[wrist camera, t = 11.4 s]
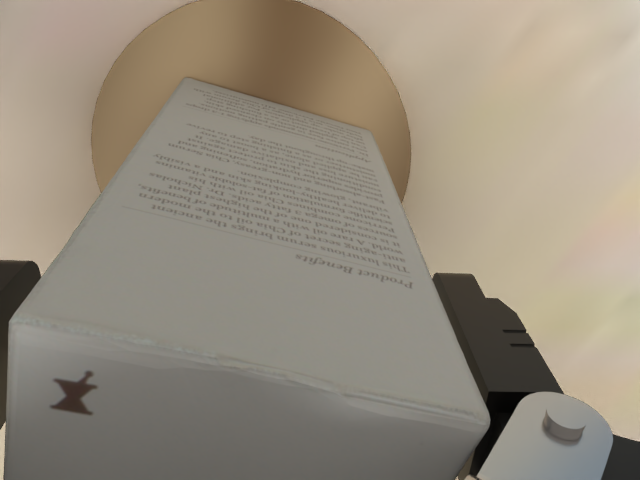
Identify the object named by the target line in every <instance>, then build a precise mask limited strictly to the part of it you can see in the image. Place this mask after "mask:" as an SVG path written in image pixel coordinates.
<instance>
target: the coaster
mask: <svg viewBox="0 0 640 480" xmlns="http://www.w3.org/2000/svg"><path fill="white" fill-rule="evenodd" d="M185 77H187V78H192V79H195V80H198V81H201V82H205V83H208V84H212V85H215V86H218V87H222V88H225V89H229V90H232V91H235V92H239V93H243V94H246V95H250V96H253V97H256V98H260V99H263V100H266V101H270V102H273V103H277V104H281V105H284V106H288V107H291V108H294V109H298V110H301V111H305V112H308V113H312V114H315V115H318V116H322V117H325V118H328V119H332V120H335V121H339V122H342V123H345V124H349V125H352V126H355V127H359V128H363V129H367V130H369V131H371V133H372V134H373V136H374V138H375V140H376V143H377V145H378V148H379V150H380V153H381V155H382V157H383V160H384V162H385V164H386V167H387V170H388V172H389V175H390V177H391V179H392V182H393V185H394V187H395V189H396V192H397V194H398V197H399V199H400V202H401V203H402V201H403V198H404V195H405V192H406V188H407V183H408V178H409V173H410V162H411V144H410V132H409V127H408V122H407V118H406V113H405V110H404V107H403V105H402V102H401V99H400V96H399V94H398V92H397V90H396V88H395V86H394V84H393V82H392V80H391V78H390V76H389V74H388V73H387V71H386V70H385V69H384V67H383V66H382V64H381V63H380V62H379V60H378V59H377V57H376V56H375V55H374V53H373V52H372V51H371V50H370V49H369V48H368V47H367V46H366V45H365V44H364V43H363V42H362V40H361V39H360V38H359V37H358V36H356V35H355V34H354V33H353V32H351V31H350V30H349V29H348V28H346V27H345V26H344V25H343V24H341V23H340V22H338V21H337V20H335V19H333V18H332V17H330V16H328V15H327V14H325V13H323V12H322V11H319V10H317V9H315V8H312V7H310V6H308V5H305V4H303V3H300V2H297V1H293V0H200V1H197V2H194V3H190V4H187V5H185V6H183V7H181V8H179V9H177V10H175V11H173V12H171V13H169V14H167V15H165V16H164V17H162V18H161V19H159V20H158V21H156V22H155V23H153V24H152V25H151V26H149V27H148V28H146V29H145V30H144V31H143V32H142V33H140V34H139V35H138V36H137V37H136V38H135V39H134V40H133V41H132V42H131V43H130V44H129V45H128V46H127V47H126V49H125V50H124V51H123V52H122V54H121V55H120V56H119V57H118V59H117V60H116V61H115V63H114V65H113V66H112V68H111V70H110V72H109V73H108V75H107V77H106V79H105V80H104V83H103V86H102V88H101V91H100V94H99V96H98V99H97V102H96V107H95V112H94V116H93V122H92V136H91V145H92V159H93V165H94V170H95V174H96V179H97V182H98V185H99V188H100V191H101V193H102V192H103V190H104V189H105V187H106V186H107V184H108V183H109V182H110V180H111V179H112V178H113V177H114V175H115V174H116V172H117V171H118V169H119V168H120V166H121V165H122V164H123V162H124V161H125V159H126V158H127V156H128V155H129V153H130V152H131V150H132V149H133V148H134V146H135V145H136V143H137V142H138V141H139V139H140V138H141V137H142V135H143V134H144V132H145V131H146V130H147V128H148V127H149V126H150V124H151V123H152V122H153V120H154V119H155V118H156V116H157V115H158V113H159V112H160V110H161V109H162V107H163V106H164V105H165V103H166V102H167V100H168V99H169V98H170V96H171V95H172V93H173V92H174V90H175V89H176V88H177V86H178V85H179V84H180V82H181V81H182V80H183V79H184V78H185Z"/></svg>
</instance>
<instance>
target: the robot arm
mask: <svg viewBox="0 0 640 480" xmlns="http://www.w3.org/2000/svg"><path fill="white" fill-rule="evenodd" d="M40 278H41V275H40V271H39V268H38V266H37V264H36V263H35V262H33V261H14V260H0V429H1V428H2V426H3V424H4V423H5V421H6V403H7V369H8V332H9V321H10V319H11V318H12V316H13V315H14V313H15V312H16V311H17V309H18V308H19V307H20V305H21V304H22V303H23V301H24V300H25V299H26V297H27V296H28V295H29V293H30V292H31V291H32V289H33V288H34V287H35V285H36V284H37V283H38V281H39V280H40ZM432 280H433V283H434V285H435V288H436V290H437V292H438V295H439V297H440V300H441V302H442V304H443V307H444V309H445V311H446V314H447V316H448V319H449V321H450V324H451V326H452V328H453V330H454V333H455V335H456V338H457V341H458V343H459V345H460V348H461V350H462V352H463V354H464V357H465V359H466V362H467V364H468V367H469V369H470V371H471V373H472V376H473V378H474V380H475V382H476V385H477V387H478V389H479V391H480V394H481V396H482V398H483V401H484V403H485V405H486V407H487V410H488V412H489V416H490V420H491V421H490V426H489V429H488V430H487V432H486V433H485V435H484V436H483V438H482V439H481V441H480V442H479V444H478V445H477V447H476V448H475V449H474V451H473V452H472V454H471V455H470V457H469V459H468V460H467V462H466V463H465V465H464V466H463V468H462V469H461V471H460V472H459V474H458V479H459V480H640V442H638V441H634V440H630V439H626V438H623V437H619V436H616V435H614V434H612V431H611V429H610V427H609V425H608V423H607V422H606V421H605V419H604V418H603V417H602V416H601V415H600V414H599V413H598V412H597V411H596V410H594V409H593V408H592V407H590V406H589V405H587V404H585V403H584V402H582V401H580V400H578V399H576V398H573V397H570V396H568V395H564V393H563V391H562V390H561V388H560V386H559V385H558V383H557V381H556V380H555V378H554V376H553V374H552V373H551V371H550V369H549V368H548V366H547V364H546V363H545V361H544V359H543V358H542V356H541V354H540V353H539V351H538V349H537V348H535V347H534V342H533V341H532V339H531V337H530V336H529V334H528V333H526V329H525V327H524V325H523V324H522V322H521V320H520V319H519V317H518V315H517V314H516V313H515V312H514V311H513V310H512V309H510V308H509V307H508V306H507V305H505V304H504V303H503V302H502V301H500V300H499V299H498V298H485V296H484V294H483V292H482V290H481V289H480V287H479V285H478V283H477V281H476V279H475V277H474V276H473V275H472V274H454V273H435V275H434V276H433V279H432Z"/></svg>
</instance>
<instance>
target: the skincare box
mask: <svg viewBox="0 0 640 480" xmlns="http://www.w3.org/2000/svg"><path fill="white" fill-rule="evenodd" d="M490 421H491V420H490V416H489V412H488V410H487V407H486V405H485V403H484V401H483V398H482V396H481V394H480V391H479V389H478V387H477V385H476V382H475V380H474V378H473V376H472V373H471V371H470V369H469V367H468V364H467V362H466V359H465V357H464V354H463V352H462V350H461V348H460V345H459V343H458V341H457V338H456V335H455V333H454V330H453V328H452V326H451V324H450V321H449V319H448V316H447V314H446V311H445V309H444V307H443V304H442V302H441V300H440V297H439V295H438V292H437V290H436V288H435V285H434V283H433V280H432V278H431V275H430V273H429V271H428V268H427V266H426V263H425V261H424V258H423V256H422V254H421V251H420V248H419V246H418V243H417V241H416V238H415V236H414V233H413V231H412V229H411V226H410V224H409V221H408V219H407V217H406V214H405V212H404V209H403V207H402V204H401V202H400V199H399V197H398V194H397V192H396V189H395V187H394V185H393V182H392V179H391V177H390V175H389V172H388V170H387V167H386V164H385V162H384V160H383V157H382V155H381V153H380V150H379V148H378V145H377V143H376V140H375V138H374V136H373V134H372V133H371V131H369V130H367V129H363V128H359V127H355V126H352V125H349V124H345V123H342V122H339V121H335V120H332V119H328V118H325V117H322V116H318V115H315V114H312V113H308V112H305V111H301V110H298V109H294V108H291V107H288V106H284V105H281V104H277V103H273V102H270V101H266V100H263V99H260V98H256V97H253V96H250V95H246V94H243V93H239V92H235V91H232V90H229V89H225V88H222V87H218V86H215V85H212V84H208V83H205V82H201V81H198V80H195V79H192V78H187V77H185V78H184V79H183V80H182V81H181V82H180V84H179V85H178V86H177V88H176V89H175V90H174V92H173V93H172V95H171V96H170V98H169V99H168V100H167V102H166V103H165V105H164V106H163V107H162V109H161V110H160V112H159V113H158V115H157V116H156V118H155V119H154V120H153V122H152V123H151V124H150V126H149V127H148V128H147V130H146V131H145V132H144V134H143V135H142V137H141V138H140V139H139V141H138V142H137V143H136V145H135V146H134V148H133V149H132V150H131V152H130V153H129V155H128V156H127V158H126V159H125V161H124V162H123V164H122V165H121V166H120V168H119V169H118V171H117V172H116V174H115V175H114V177H113V178H112V179H111V180H110V182H109V183H108V184H107V186H106V187H105V189H104V190H103V192H102V193H101V194H100V196H99V197H98V198H97V200H96V201H95V203H94V204H93V205H92V207H91V208H90V210H89V211H88V213H87V214H86V216H85V217H84V219H83V220H82V222H81V223H80V225H79V226H78V227H77V228H76V230H75V231H74V232H73V234H72V236H71V237H70V239H69V241H68V242H67V244H66V245H65V246H64V248H63V249H62V251H61V252H60V253H59V255H58V256H57V257H56V259H55V260H54V261H53V262H52V263H51V265H50V266H49V267H48V269H47V270H46V272H45V273H44V274H43V276H42V277H41V278H40V280H39V281H38V283H37V284H36V285H35V287H34V288H33V289H32V291H31V292H30V293H29V295H28V296H27V297H26V299H25V300H24V301H23V303H22V304H21V305H20V307H19V308H18V309H17V311H16V312H15V313H14V315H13V316H12V318H11V319H10V321H9V332H8V369H7V403H6V432H5V458H4V480H455V479H456V477H457V476H458V474H459V472H460V471H461V469H462V468H463V466H464V465H465V463H466V462H467V460H468V459H469V457H470V455H471V454H472V452H473V451H474V449H475V448H476V447H477V445H478V444H479V442H480V441H481V439H482V438H483V436H484V435H485V433H486V432H487V430H488V429H489V426H490Z"/></svg>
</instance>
